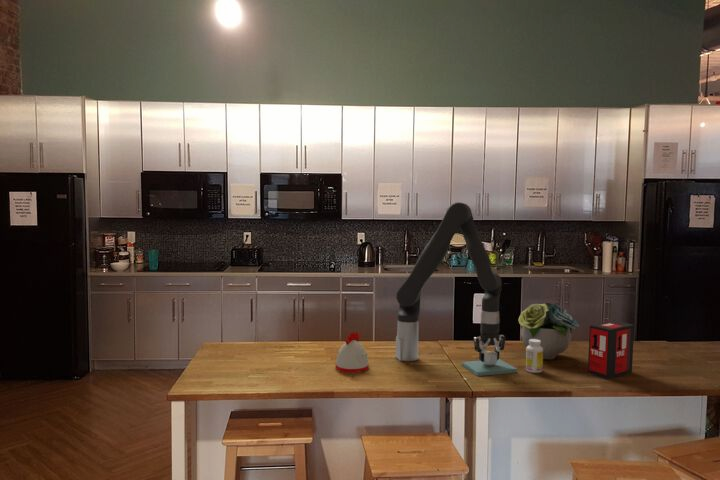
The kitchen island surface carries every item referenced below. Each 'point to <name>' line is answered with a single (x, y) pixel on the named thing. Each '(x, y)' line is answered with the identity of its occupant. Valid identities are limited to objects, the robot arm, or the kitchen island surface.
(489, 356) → the steel hub
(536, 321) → the flower arrangement
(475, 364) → the post stand
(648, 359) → the kitchen island surface
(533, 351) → the supplement bottle
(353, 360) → the grey beanie hat
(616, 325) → the cleaning product box
